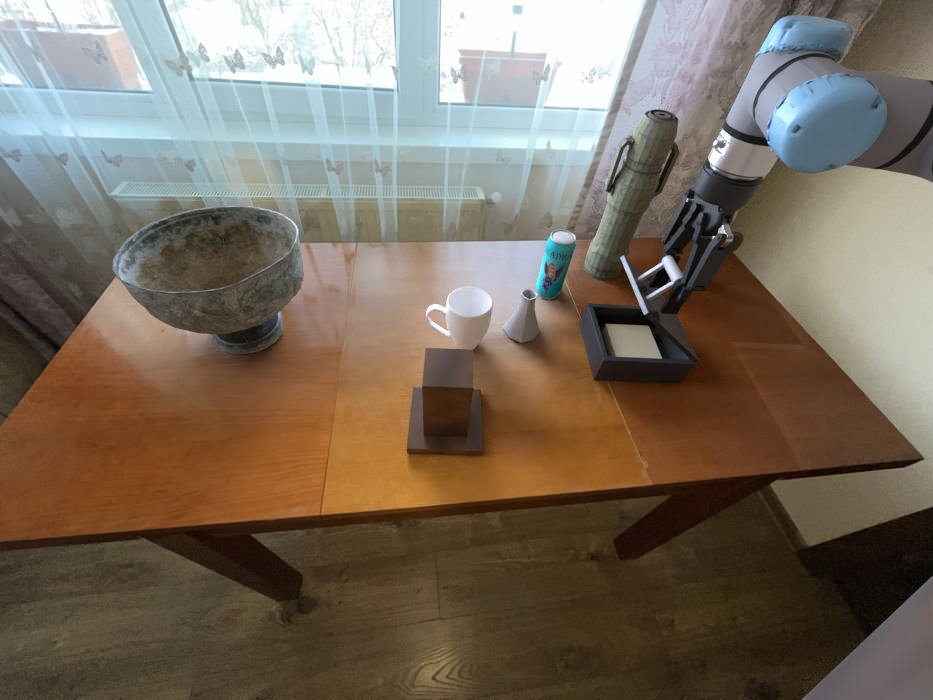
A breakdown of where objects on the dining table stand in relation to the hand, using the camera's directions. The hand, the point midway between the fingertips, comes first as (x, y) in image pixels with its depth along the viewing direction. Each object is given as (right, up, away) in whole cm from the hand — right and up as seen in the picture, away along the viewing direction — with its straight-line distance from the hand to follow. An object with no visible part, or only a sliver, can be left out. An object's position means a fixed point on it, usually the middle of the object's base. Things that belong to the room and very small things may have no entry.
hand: (662, 298), depth 70 cm
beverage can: (-16, +4, +21) cm, 27 cm away
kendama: (+20, +8, +28) cm, 36 cm away
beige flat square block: (-2, -9, +10) cm, 14 cm away
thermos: (-1, +11, +29) cm, 31 cm away
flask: (-23, -5, +13) cm, 27 cm away
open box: (-2, -9, +11) cm, 15 cm away
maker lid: (0, -2, +2) cm, 3 cm away
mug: (-36, -8, +10) cm, 39 cm away
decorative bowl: (-77, -5, +9) cm, 78 cm away
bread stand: (-38, -21, -2) cm, 44 cm away
